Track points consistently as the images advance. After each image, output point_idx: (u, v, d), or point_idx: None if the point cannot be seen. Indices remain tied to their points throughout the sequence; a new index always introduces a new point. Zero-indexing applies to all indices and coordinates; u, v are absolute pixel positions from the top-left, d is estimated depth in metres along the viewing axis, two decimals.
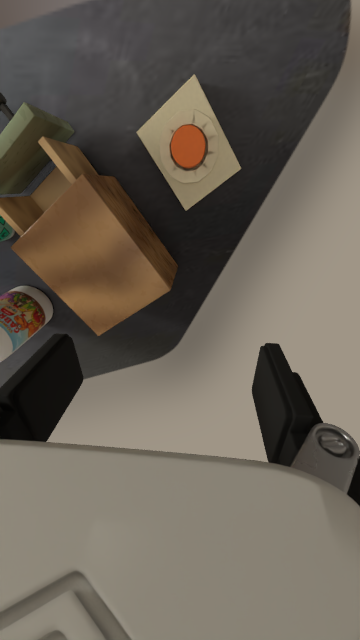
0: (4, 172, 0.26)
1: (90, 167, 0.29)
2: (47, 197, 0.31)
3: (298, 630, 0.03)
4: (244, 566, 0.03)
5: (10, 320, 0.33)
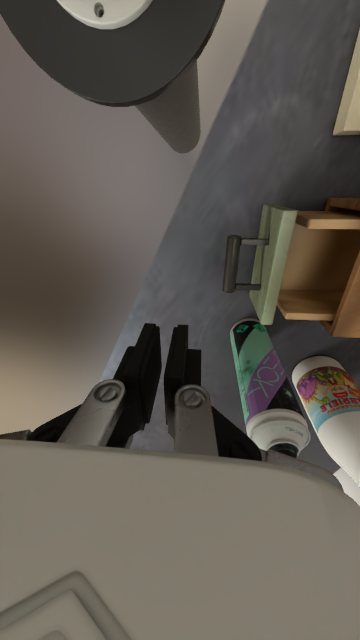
0: None
1: (313, 211, 0.25)
2: (287, 275, 0.29)
3: (298, 630, 0.03)
4: (244, 566, 0.03)
5: (353, 398, 0.30)
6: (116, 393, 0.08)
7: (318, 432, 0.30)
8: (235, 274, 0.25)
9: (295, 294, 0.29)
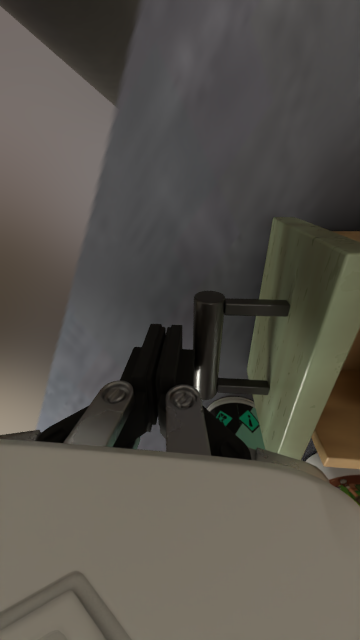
0: None
1: None
2: None
3: (298, 630, 0.03)
4: (244, 566, 0.03)
5: None
6: (124, 394, 0.08)
7: None
8: (215, 369, 0.12)
9: None
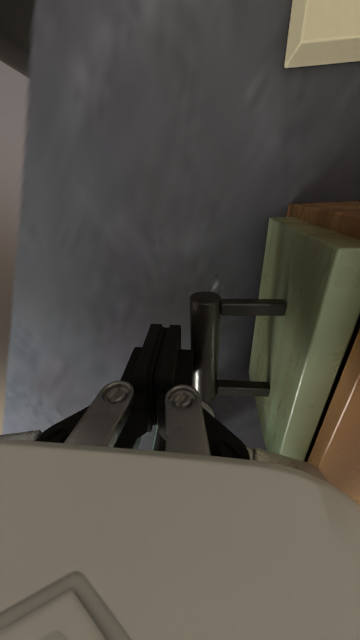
0: None
1: None
2: None
3: (298, 630, 0.03)
4: (244, 566, 0.03)
5: None
6: (125, 395, 0.08)
7: None
8: (214, 370, 0.12)
9: (336, 385, 0.15)
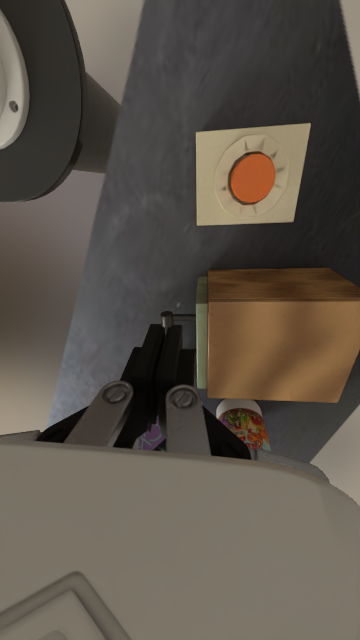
0: None
1: None
2: None
3: (298, 630, 0.03)
4: (244, 566, 0.03)
5: (248, 444, 0.33)
6: (124, 395, 0.08)
7: None
8: None
9: None
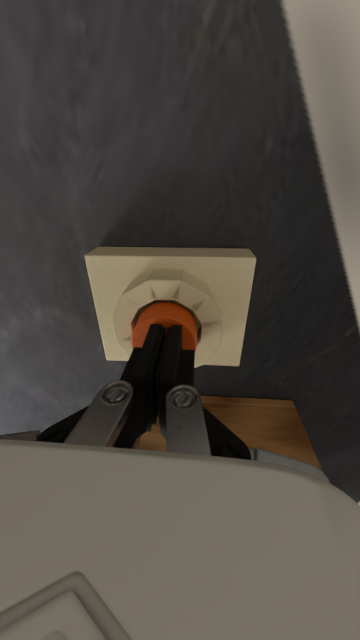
0: None
1: None
2: None
3: (298, 630, 0.03)
4: (244, 566, 0.03)
5: None
6: (124, 394, 0.08)
7: None
8: None
9: None
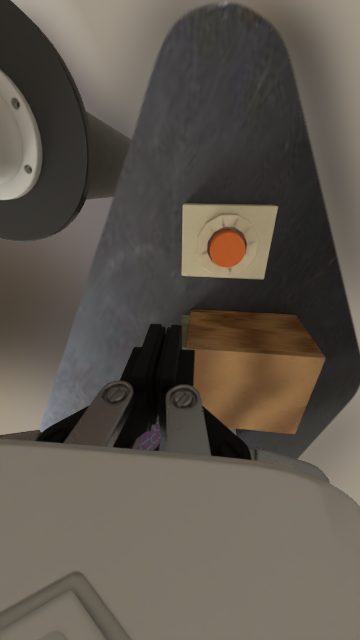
0: None
1: None
2: None
3: (298, 630, 0.03)
4: (244, 566, 0.03)
5: None
6: (124, 394, 0.08)
7: None
8: None
9: None
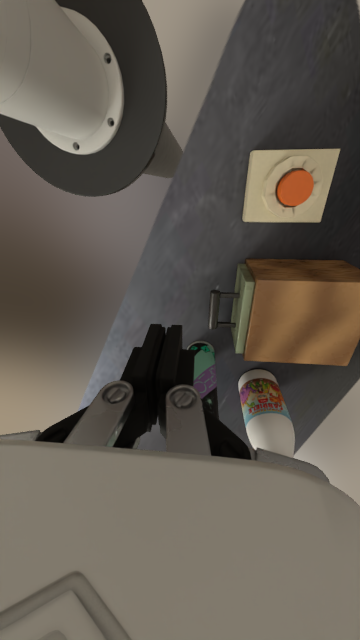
0: None
1: None
2: None
3: (298, 630, 0.03)
4: (244, 566, 0.03)
5: (271, 403, 0.40)
6: (124, 394, 0.08)
7: (246, 428, 0.40)
8: (216, 316, 0.35)
9: None
